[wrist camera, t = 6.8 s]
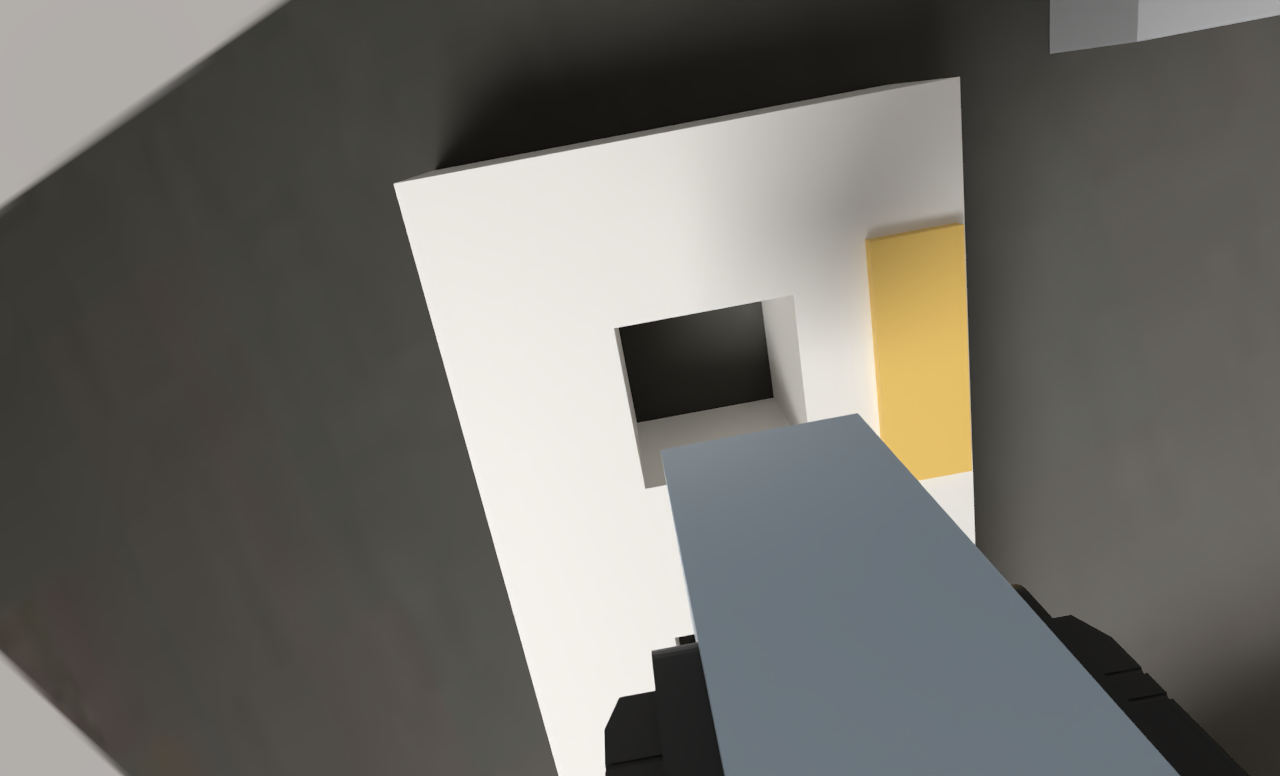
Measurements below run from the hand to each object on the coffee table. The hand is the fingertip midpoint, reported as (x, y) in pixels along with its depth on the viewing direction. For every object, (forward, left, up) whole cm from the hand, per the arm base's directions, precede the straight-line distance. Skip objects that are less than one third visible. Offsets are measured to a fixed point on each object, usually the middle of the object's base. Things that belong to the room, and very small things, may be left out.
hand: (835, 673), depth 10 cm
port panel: (0, +5, -16) cm, 17 cm away
